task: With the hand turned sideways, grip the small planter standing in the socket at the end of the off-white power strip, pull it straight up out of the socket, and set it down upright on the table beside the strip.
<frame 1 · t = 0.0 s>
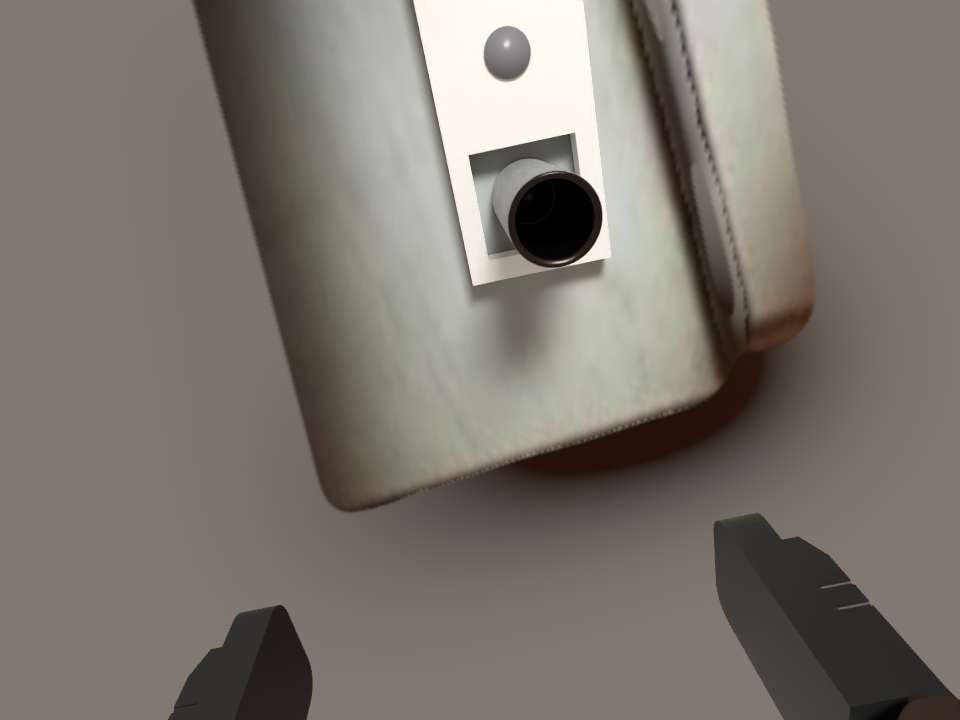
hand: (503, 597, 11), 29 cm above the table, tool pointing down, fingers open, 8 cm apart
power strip: (510, 93, 34), on the table
planter: (526, 195, 37), resting in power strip
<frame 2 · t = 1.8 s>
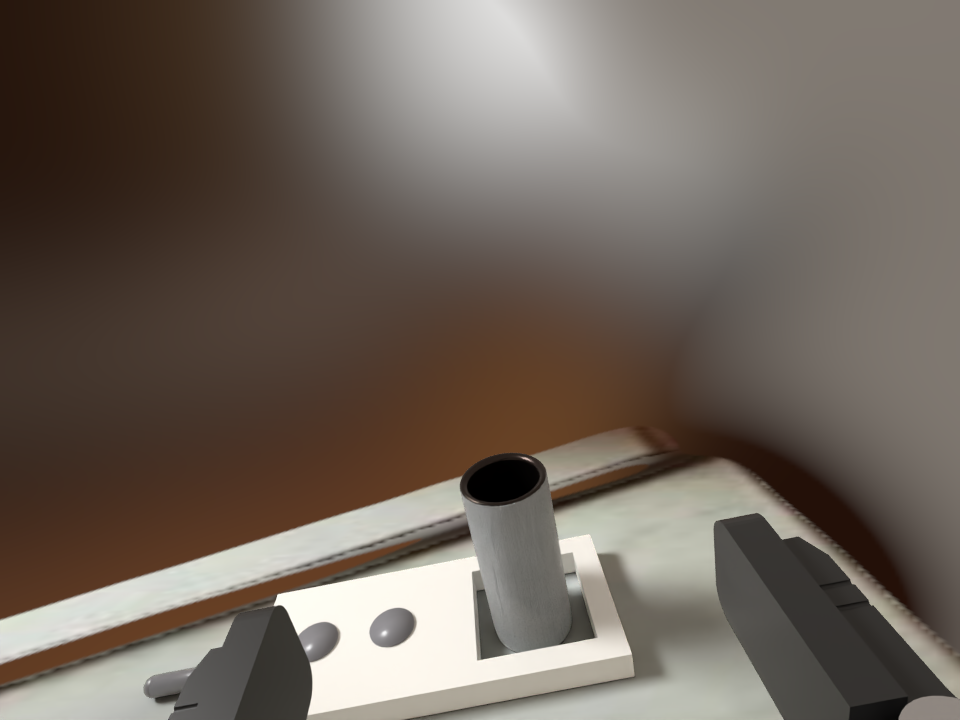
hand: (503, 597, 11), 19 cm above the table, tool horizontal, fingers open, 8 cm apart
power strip: (432, 641, 34), on the table
planter: (533, 624, 33), resting in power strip
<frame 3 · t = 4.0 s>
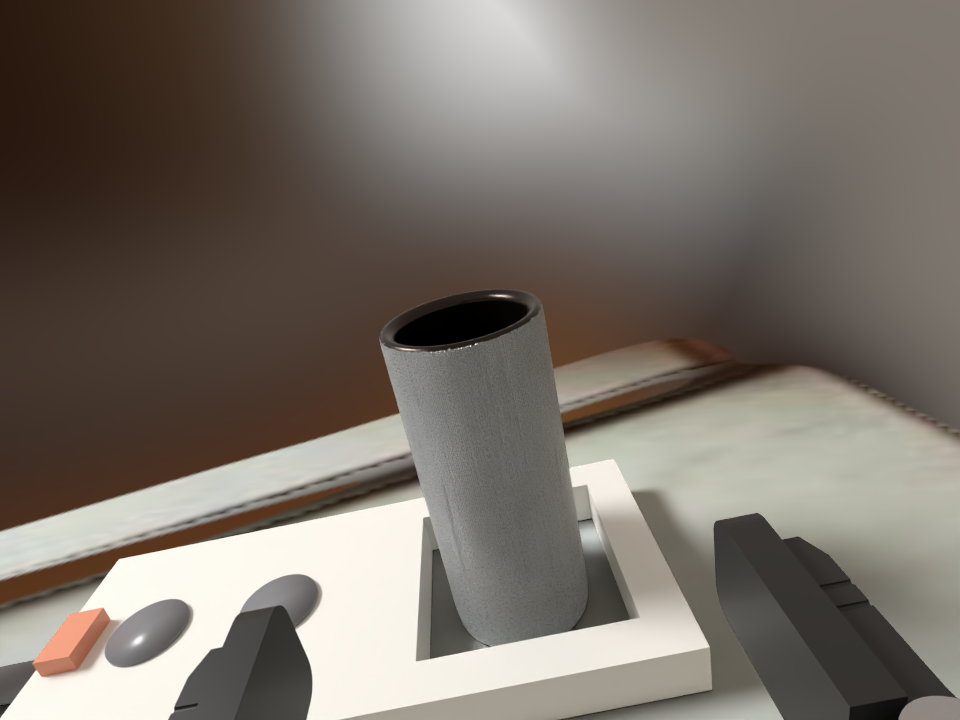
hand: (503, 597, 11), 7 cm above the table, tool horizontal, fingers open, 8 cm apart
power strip: (351, 629, 20), on the table
planter: (523, 600, 20), resting in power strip
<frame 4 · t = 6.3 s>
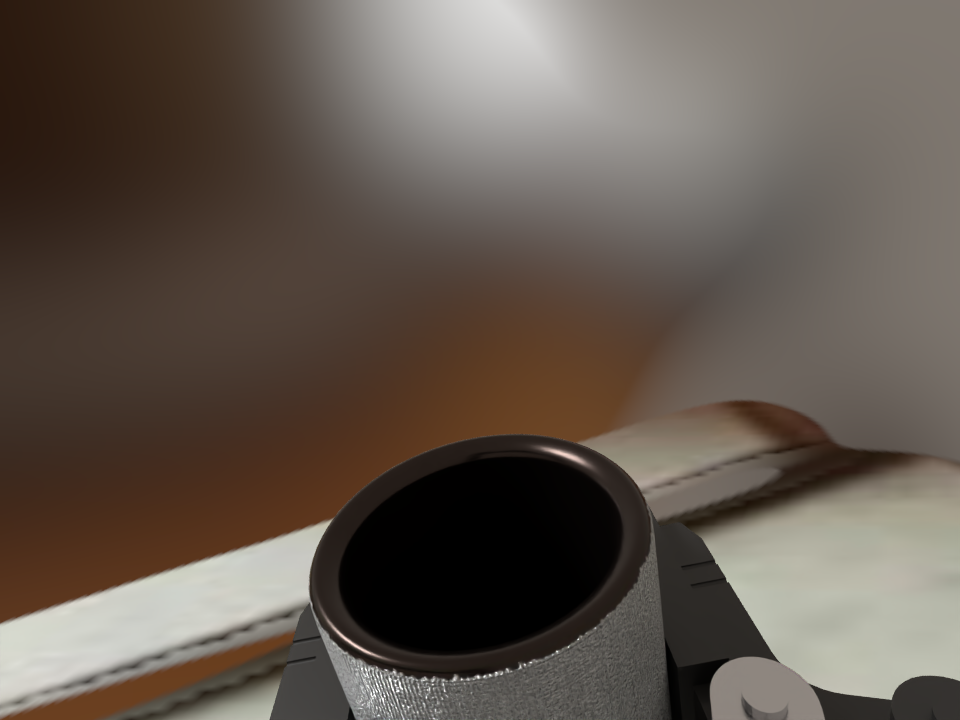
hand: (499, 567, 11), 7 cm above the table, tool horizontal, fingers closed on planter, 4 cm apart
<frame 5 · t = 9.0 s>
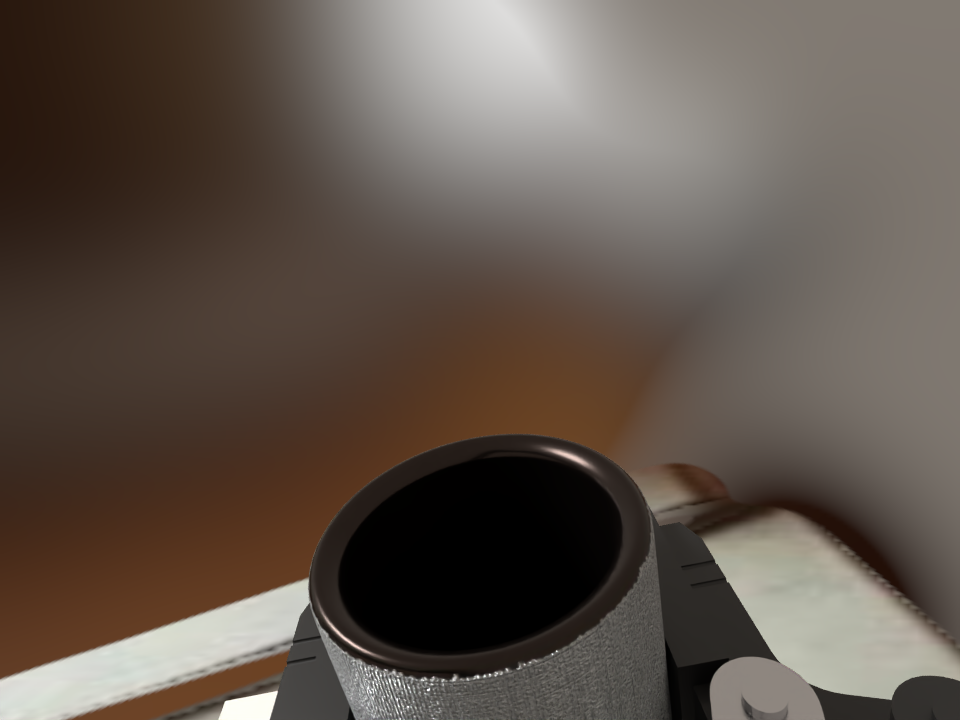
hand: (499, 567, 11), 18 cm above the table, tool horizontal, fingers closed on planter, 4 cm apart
when the fingers open (8 cm above the table, at t = 11.6 s): planter drops 1 cm, on the table.
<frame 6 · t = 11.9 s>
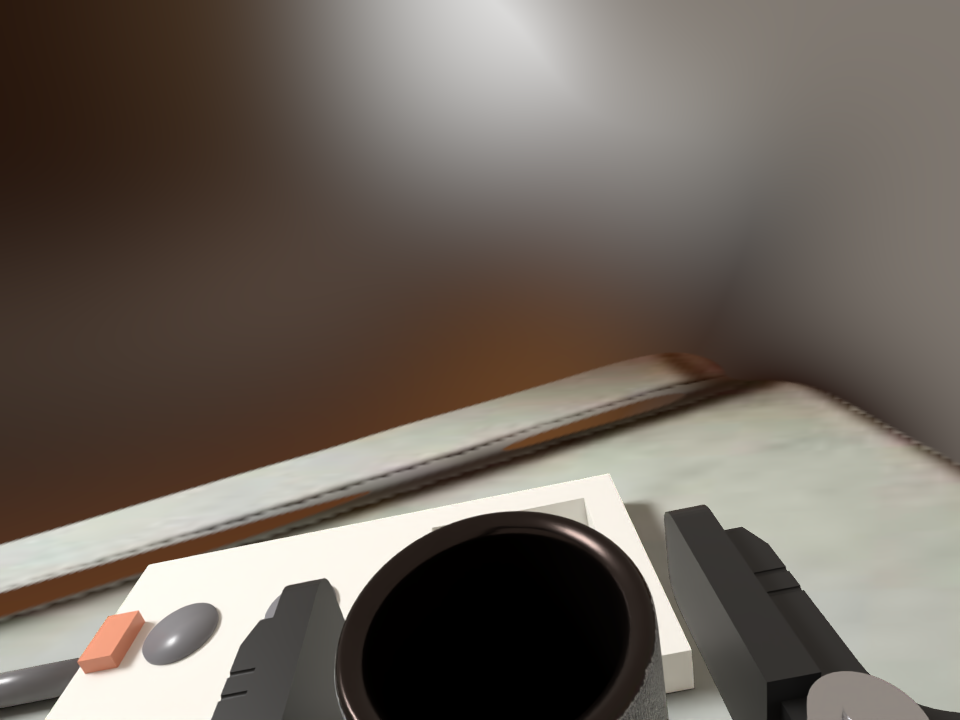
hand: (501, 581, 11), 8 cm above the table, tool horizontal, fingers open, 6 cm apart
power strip: (366, 631, 21), on the table
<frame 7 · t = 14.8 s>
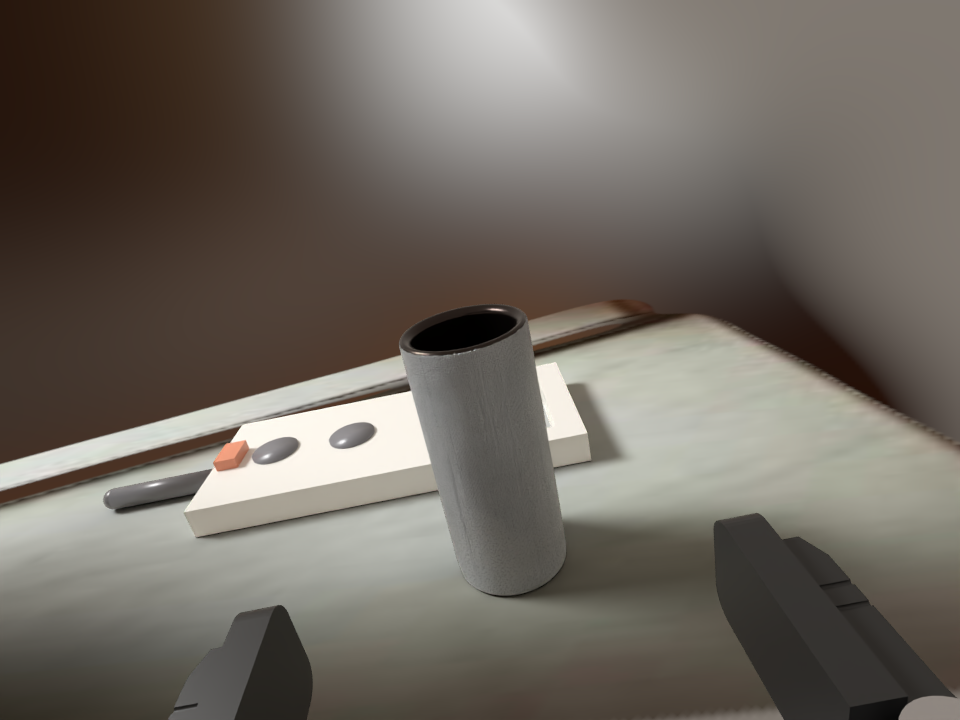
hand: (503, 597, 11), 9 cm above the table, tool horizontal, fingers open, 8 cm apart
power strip: (393, 453, 33), on the table
planter: (513, 558, 24), on the table
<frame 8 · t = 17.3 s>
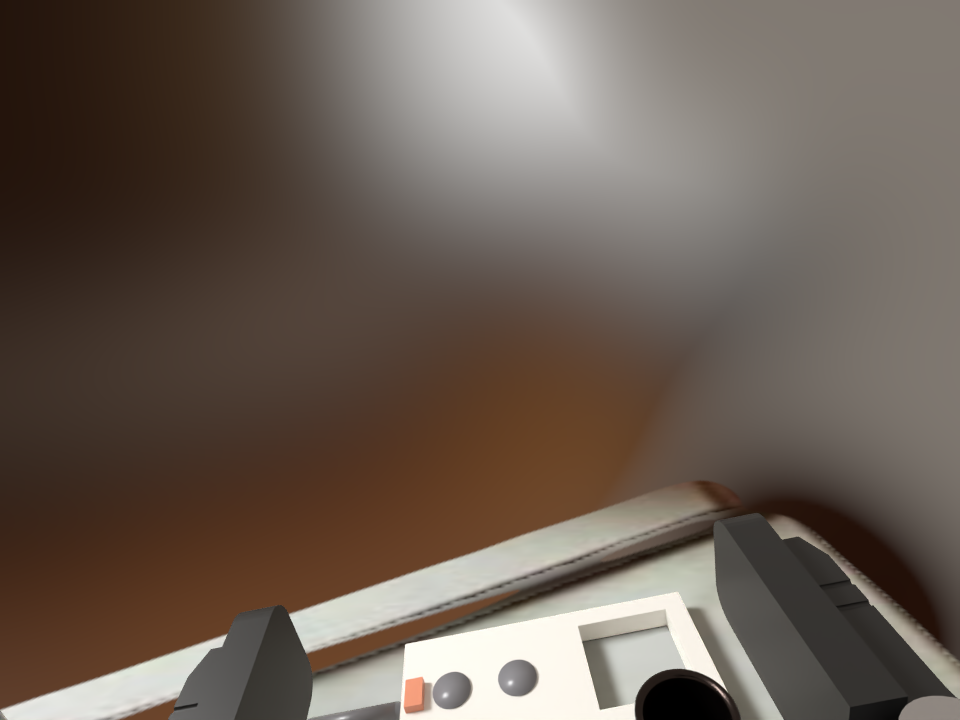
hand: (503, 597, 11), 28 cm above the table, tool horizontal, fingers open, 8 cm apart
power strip: (550, 688, 39), on the table
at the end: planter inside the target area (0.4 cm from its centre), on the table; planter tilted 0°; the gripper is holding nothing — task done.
